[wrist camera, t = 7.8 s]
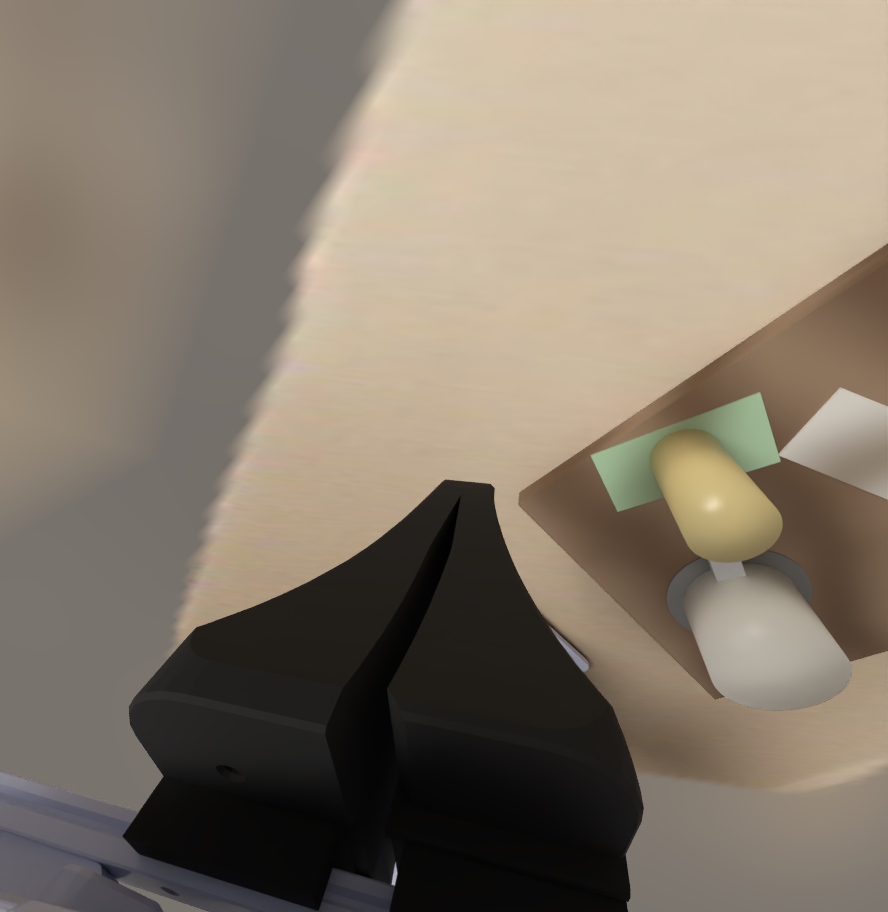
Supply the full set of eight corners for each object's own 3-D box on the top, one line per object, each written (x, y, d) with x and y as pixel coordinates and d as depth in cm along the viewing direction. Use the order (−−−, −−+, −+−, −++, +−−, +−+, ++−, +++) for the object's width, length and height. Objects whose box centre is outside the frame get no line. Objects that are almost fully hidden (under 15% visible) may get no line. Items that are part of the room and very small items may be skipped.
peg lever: (806, 624, 20) (878, 728, 16) (698, 642, 22) (736, 739, 18) (742, 407, 16) (815, 470, 12) (615, 452, 18) (638, 520, 14)
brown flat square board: (708, 680, 26) (715, 701, 24) (517, 491, 22) (516, 504, 21) (1126, 552, 17) (1167, 574, 16) (933, 209, 13) (968, 206, 12)
